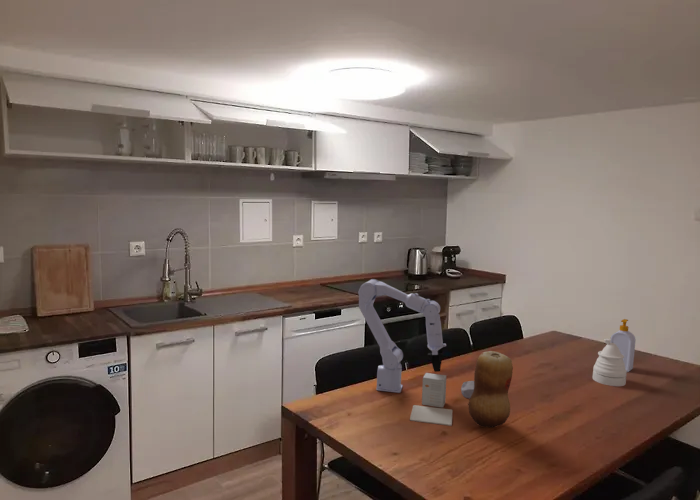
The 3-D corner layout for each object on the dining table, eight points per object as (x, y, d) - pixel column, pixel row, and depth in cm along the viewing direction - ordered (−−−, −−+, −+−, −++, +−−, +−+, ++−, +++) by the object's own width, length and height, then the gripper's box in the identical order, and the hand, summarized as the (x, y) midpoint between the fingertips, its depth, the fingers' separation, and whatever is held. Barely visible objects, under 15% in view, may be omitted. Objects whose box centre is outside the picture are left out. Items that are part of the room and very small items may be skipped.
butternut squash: (502, 438, 164) (507, 362, 162) (461, 427, 171) (466, 354, 169) (513, 423, 176) (518, 352, 173) (475, 413, 183) (479, 344, 180)
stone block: (462, 402, 197) (489, 400, 195) (460, 390, 197) (487, 388, 195) (462, 392, 209) (487, 390, 207) (460, 380, 209) (485, 378, 207)
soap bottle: (633, 369, 239) (638, 320, 236) (628, 372, 234) (633, 322, 231) (612, 364, 245) (616, 316, 242) (607, 367, 240) (612, 319, 237)
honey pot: (593, 383, 218) (597, 341, 216) (591, 373, 230) (595, 334, 228) (627, 388, 214) (631, 346, 212) (623, 378, 225) (627, 338, 224)
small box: (445, 402, 192) (447, 375, 191) (443, 408, 187) (444, 380, 185) (424, 399, 194) (425, 372, 193) (421, 404, 189) (422, 377, 188)
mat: (409, 420, 175) (409, 419, 175) (413, 406, 188) (413, 405, 188) (451, 425, 172) (451, 424, 172) (452, 410, 185) (452, 409, 185)
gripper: (444, 337, 188) (447, 373, 189) (445, 328, 202) (449, 362, 203) (424, 338, 190) (428, 374, 191) (427, 329, 204) (431, 363, 205)
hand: (437, 368), depth 197 cm, fingers open, 7 cm apart
